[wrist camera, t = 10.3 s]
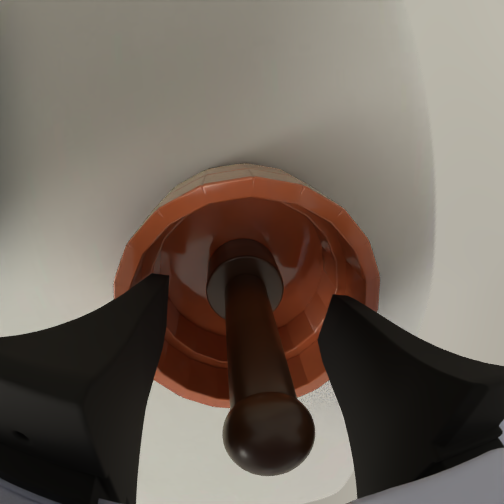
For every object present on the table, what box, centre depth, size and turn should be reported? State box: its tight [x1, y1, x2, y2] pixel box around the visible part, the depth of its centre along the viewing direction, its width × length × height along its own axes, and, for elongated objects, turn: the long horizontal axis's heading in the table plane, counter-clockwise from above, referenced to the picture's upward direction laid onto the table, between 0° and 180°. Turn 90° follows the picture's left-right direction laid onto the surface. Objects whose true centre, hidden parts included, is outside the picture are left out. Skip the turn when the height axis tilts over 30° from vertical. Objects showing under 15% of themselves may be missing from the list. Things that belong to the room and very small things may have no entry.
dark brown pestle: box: [206, 239, 315, 476], centre depth 9 cm, size 3×3×10 cm
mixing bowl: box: [113, 163, 380, 408], centre depth 12 cm, size 9×9×4 cm
